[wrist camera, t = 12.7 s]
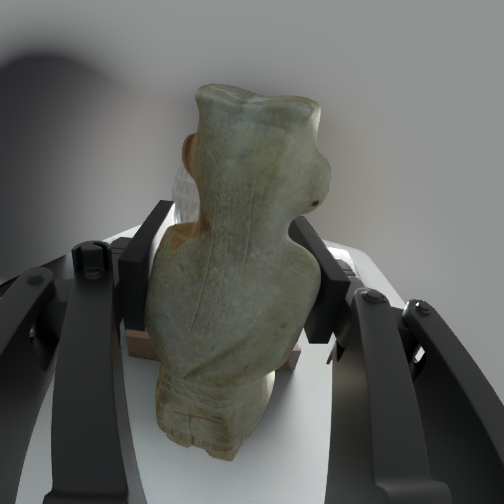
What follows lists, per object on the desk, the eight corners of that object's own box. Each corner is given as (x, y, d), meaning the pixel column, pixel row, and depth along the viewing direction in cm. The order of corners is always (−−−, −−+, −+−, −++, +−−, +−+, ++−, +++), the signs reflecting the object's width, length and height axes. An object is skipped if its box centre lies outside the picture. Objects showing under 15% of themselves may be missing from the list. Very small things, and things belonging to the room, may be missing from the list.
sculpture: (283, 386, 16) (357, 116, 10) (246, 487, 10) (379, 79, 4) (195, 355, 18) (221, 93, 11) (134, 439, 11) (101, 65, 5)
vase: (266, 246, 60) (286, 136, 50) (233, 280, 46) (255, 133, 36) (197, 226, 64) (209, 124, 55) (151, 251, 50) (159, 122, 41)
